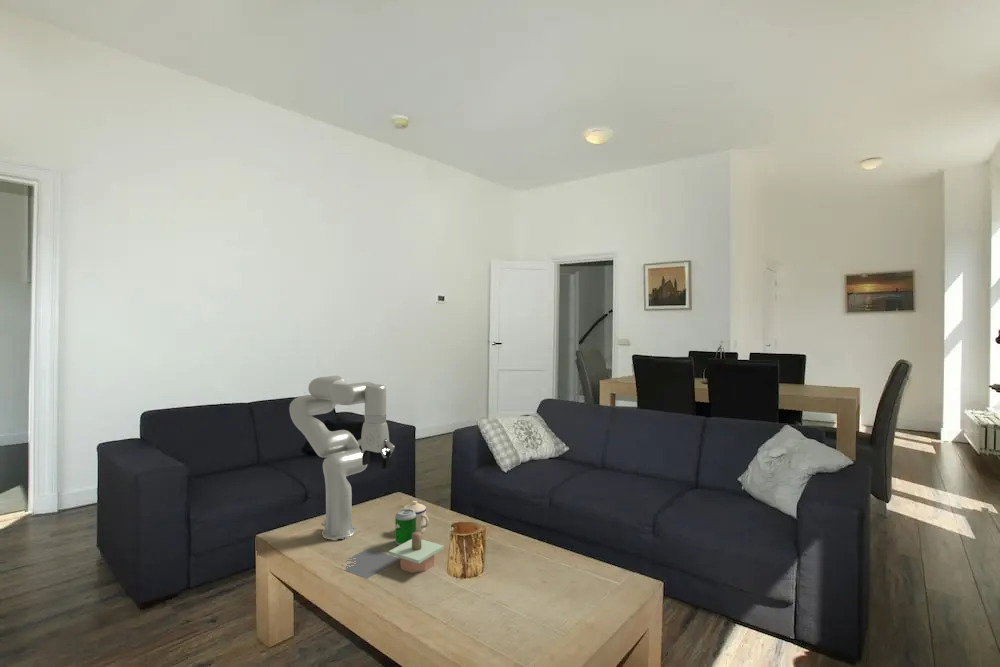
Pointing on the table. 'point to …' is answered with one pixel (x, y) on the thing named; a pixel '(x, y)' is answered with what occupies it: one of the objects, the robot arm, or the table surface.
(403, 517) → the soda can
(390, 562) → the mat
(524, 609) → the table surface
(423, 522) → the teacup with lid
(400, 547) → the lid
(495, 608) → the table surface
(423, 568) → the bowl
